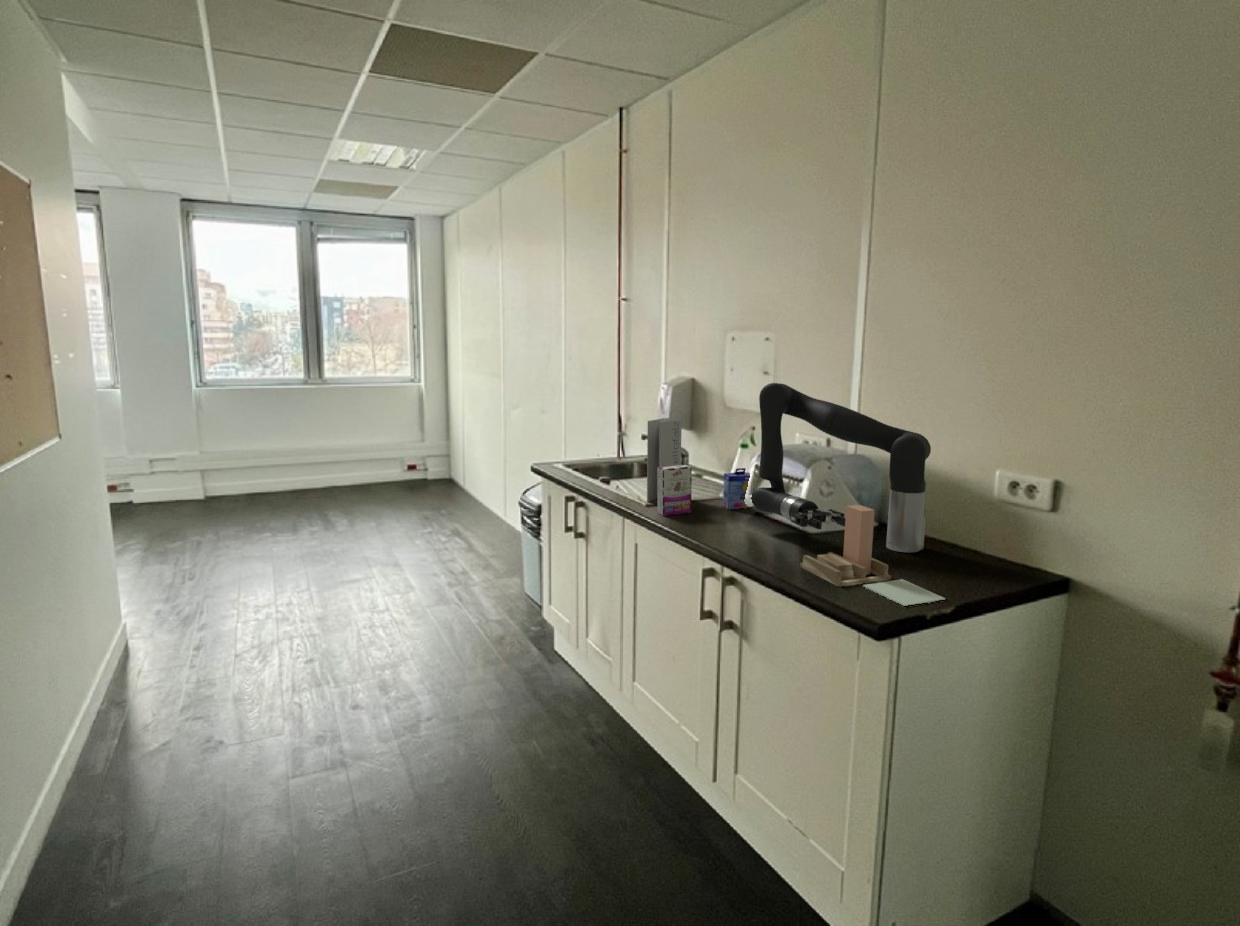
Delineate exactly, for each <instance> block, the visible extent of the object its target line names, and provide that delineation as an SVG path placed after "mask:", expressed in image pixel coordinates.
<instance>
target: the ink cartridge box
mask: <svg viewBox="0 0 1240 926" xmlns="http://www.w3.org/2000/svg"><path fill="white" fill-rule="evenodd" d="M750 473H751V472H746V468H745V467H743V468H741V467H740V468H738V467H737V468H736V469H735V471H734V472H726V473H723V494H722V496H723V497H722V498H723V499H722V507H724V508H726V509H727V510H739V509H740V508H744V509H747V508H746V504H745V502H744V499H745V494H746V490H747V487H748V481H749V478H750Z"/></svg>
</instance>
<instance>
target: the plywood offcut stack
mask: <svg viewBox="0 0 1240 926" xmlns="http://www.w3.org/2000/svg"><path fill="white" fill-rule="evenodd" d="M816 560H819V561H821V562H823V563H825V564H827V565H829V566H831V567H833V568H835V569H837V570H839V571H841V579H840V581H845V580H852V579H855V576H853V570H852V564H851V563H849V562H847V561H845V560H843V559H841V558H839V557H837V556H835V555H833V554H826V553H824V554H817V557H816Z"/></svg>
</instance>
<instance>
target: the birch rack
mask: <svg viewBox="0 0 1240 926" xmlns="http://www.w3.org/2000/svg"><path fill="white" fill-rule="evenodd" d="M827 554H833V555H835V556H837V557H839V558H841V559H843V560H845V561H847V562H849V563H851V564H852V570H853V576H855V579H852V580H845V581H840V579H841V571H839V570H837V569H835V568H833V567H831V566H829V565H827V564H825V563H823V562H821V561H819V560H817V558H814V557H812V556H810V555H809V554H806V555H804V554H803V556H802V562H800V563H799V567H800V568H801V569H803V570H805V571H807V572H808V573H812V574H813V575H815V576H817V577H819V578H820V579H822V580H825V581H826V582H829V583H830V584H832V585H834V586H836V587H838V586H839V587H838V588H843V587H842V586H844V587H851V586H857V584H858V585H864V584H863V583H865V584H873V583H880V582H886V581H892V580H891V579H892V575H890V574H889V564H887V563H885V562H882V561H881V560H878V559H876V558H873V557H871V571H870V574H873V575H874V576H867V575H866V568H865V567H863V566H861V565H859V564H857V563H854V562H852V561H850V560H848V559H846V558H843V556H841V555H839V554H837V553H834V552H832V551H828V552H827ZM866 576H867V577H866Z"/></svg>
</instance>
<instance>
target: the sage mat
mask: <svg viewBox="0 0 1240 926" xmlns="http://www.w3.org/2000/svg"><path fill="white" fill-rule="evenodd" d="M862 587H863V588H864V587H865V589H866V590H868V589H869V591H870V590H871V591H870V592H872V591H873V593H874V592H875V593H874V594H876V593H878V594H879V596H880V595H881V596H880V597H882V596H884V597H886V598H887V599H886V598H885V599H886V600H888V599H889V600H888V601H890V600H892V601H894V602H896V603H899V604H901V605H903V606H908V605H915V604H922V603H928V604H932V603H931V602H934V603H936V602H935V601H939V600H945V599H946V598H945V597H944V596H942V595H939V594H936V593H934V592H932V591H930V590H928V589H925V588H923V587H921V586H919V585H916V584H914V583H912V582H910V581H907V580H906V579H903V578H900V579H895V580H886V581H879V582H872V583H865V584H862ZM878 594H877V595H878ZM884 597H883V598H884ZM892 601H891V602H892ZM894 602H893V603H894ZM896 603H895V604H896ZM901 605H900V606H901ZM922 605H923V604H922ZM903 606H902V607H903ZM915 606H916V605H915Z"/></svg>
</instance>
